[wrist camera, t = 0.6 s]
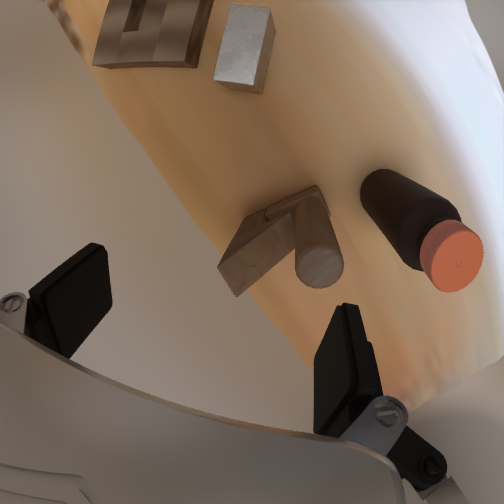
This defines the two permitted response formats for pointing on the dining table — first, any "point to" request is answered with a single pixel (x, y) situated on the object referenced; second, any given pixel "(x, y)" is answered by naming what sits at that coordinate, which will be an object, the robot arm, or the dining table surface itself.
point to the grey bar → (245, 49)
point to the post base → (152, 33)
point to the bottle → (423, 229)
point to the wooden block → (285, 243)
